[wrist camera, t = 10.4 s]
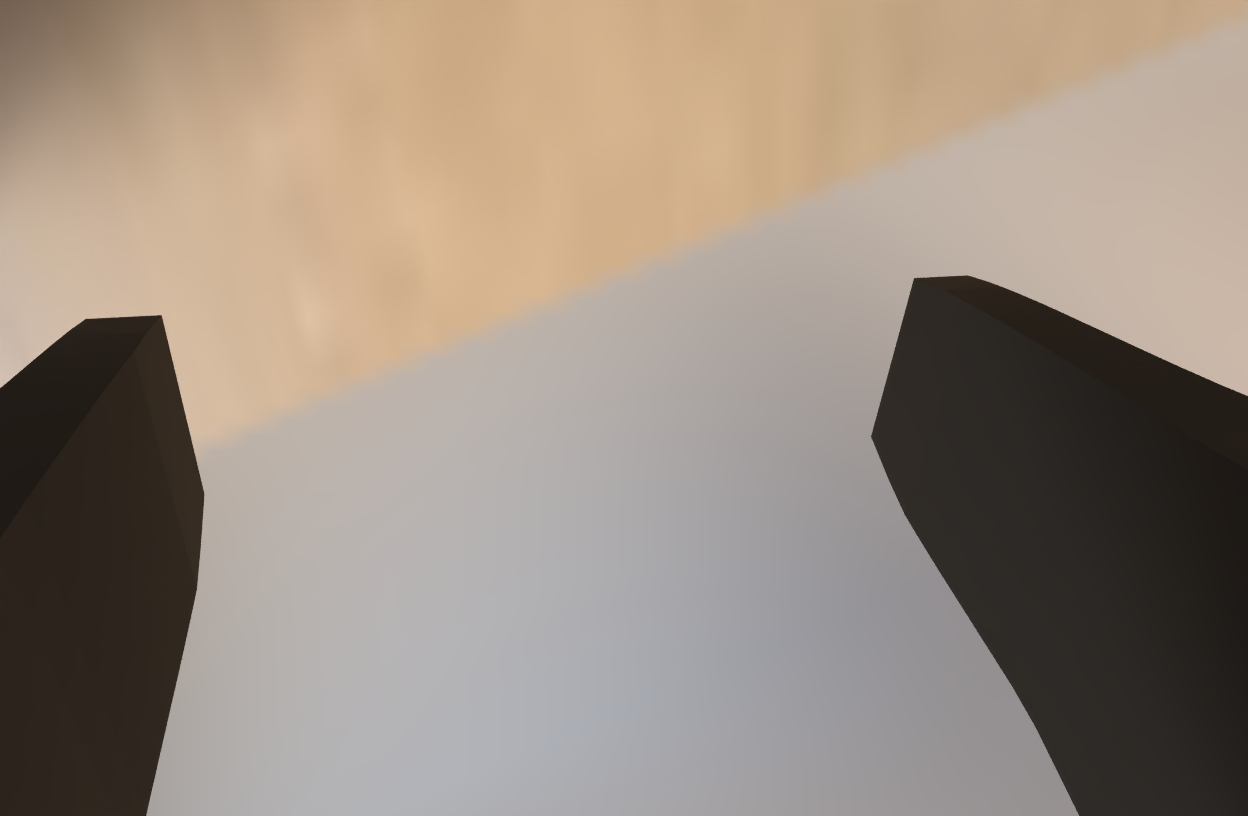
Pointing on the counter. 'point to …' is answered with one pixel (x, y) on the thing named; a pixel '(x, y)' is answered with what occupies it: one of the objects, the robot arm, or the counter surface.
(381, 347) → the counter surface
